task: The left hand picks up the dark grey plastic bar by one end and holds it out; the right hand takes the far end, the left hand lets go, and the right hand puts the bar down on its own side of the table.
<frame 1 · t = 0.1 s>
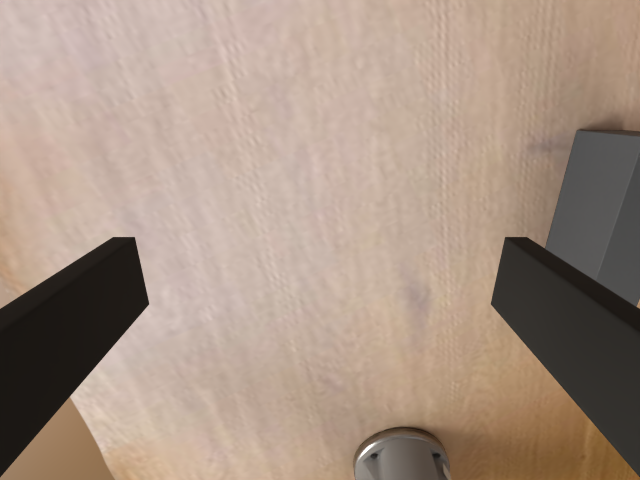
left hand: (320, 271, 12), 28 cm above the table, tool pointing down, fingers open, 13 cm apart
bar: (573, 222, 41), on the table
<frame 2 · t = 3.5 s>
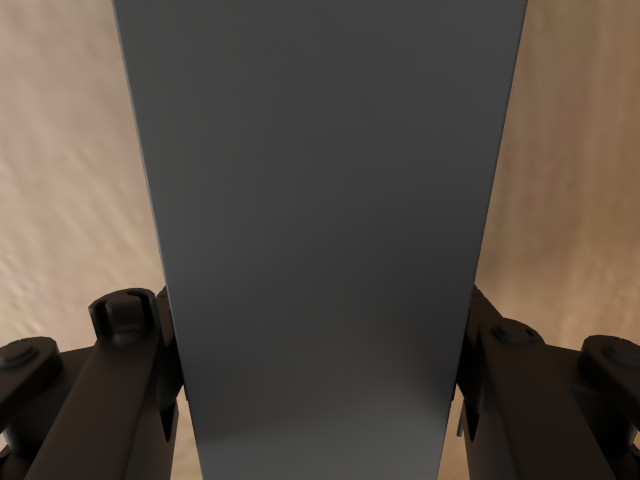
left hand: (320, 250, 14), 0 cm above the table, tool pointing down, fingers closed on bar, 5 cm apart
bar: (319, 53, 12), on the table, touching left hand
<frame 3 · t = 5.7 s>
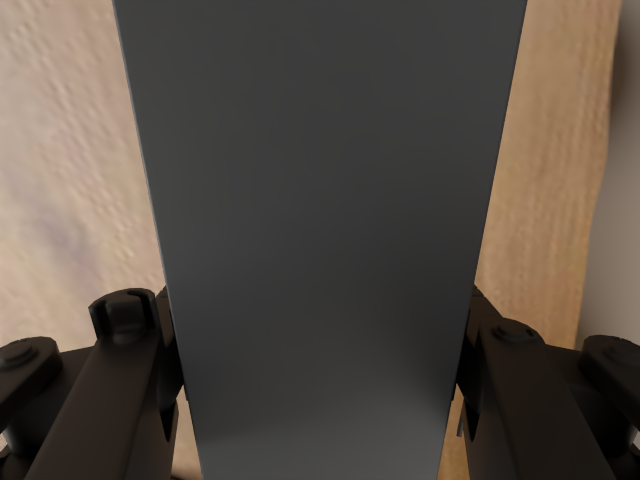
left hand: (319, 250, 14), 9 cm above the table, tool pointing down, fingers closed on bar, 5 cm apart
bar: (319, 52, 12), point 8 cm above the table, touching left hand
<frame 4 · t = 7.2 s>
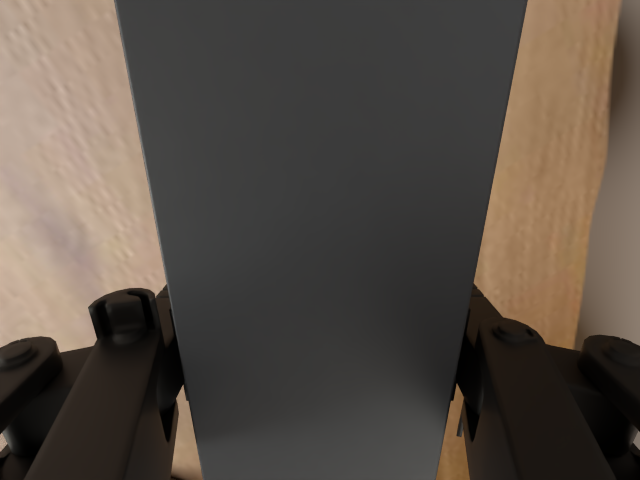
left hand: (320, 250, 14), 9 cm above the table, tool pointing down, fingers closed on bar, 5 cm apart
bar: (320, 52, 12), point 8 cm above the table, touching left hand, right hand
when the left hand's fingers open (9 cm above the table, at t = 8.0 s): bar stays where it is, held by the right hand.
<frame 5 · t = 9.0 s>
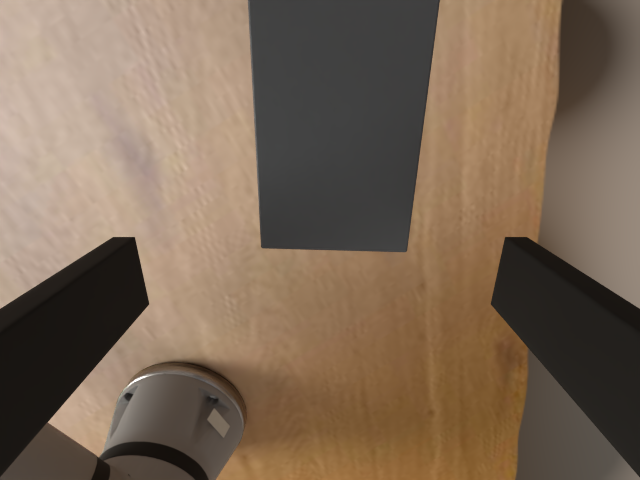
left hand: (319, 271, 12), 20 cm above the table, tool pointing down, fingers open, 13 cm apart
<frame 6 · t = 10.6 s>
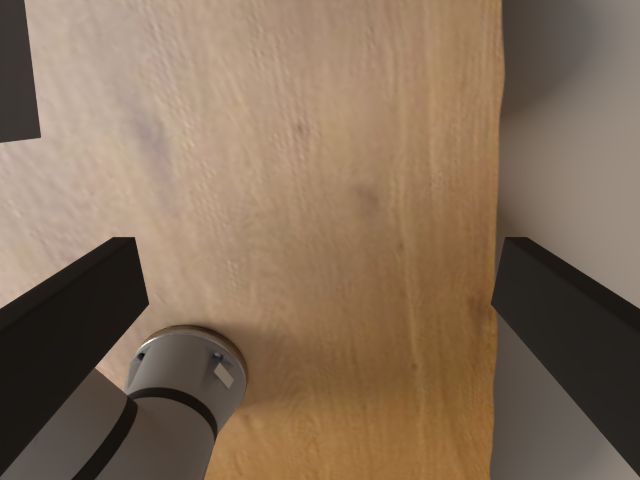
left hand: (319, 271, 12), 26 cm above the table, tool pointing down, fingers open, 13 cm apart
when the right hand's fingers open (4 cm above the table, at t = 14.4 s): bar stays where it is, on the table.
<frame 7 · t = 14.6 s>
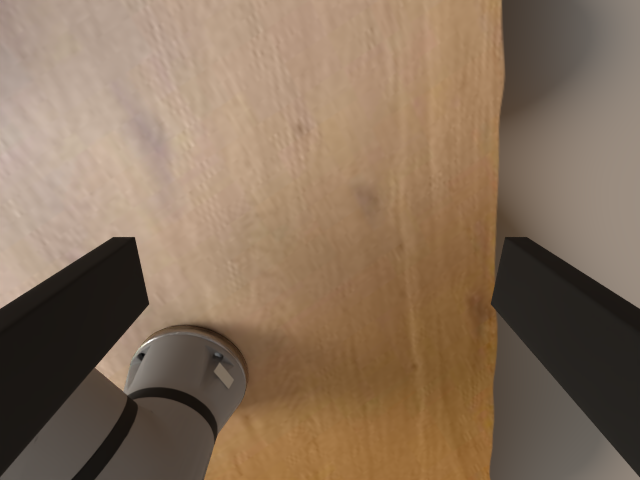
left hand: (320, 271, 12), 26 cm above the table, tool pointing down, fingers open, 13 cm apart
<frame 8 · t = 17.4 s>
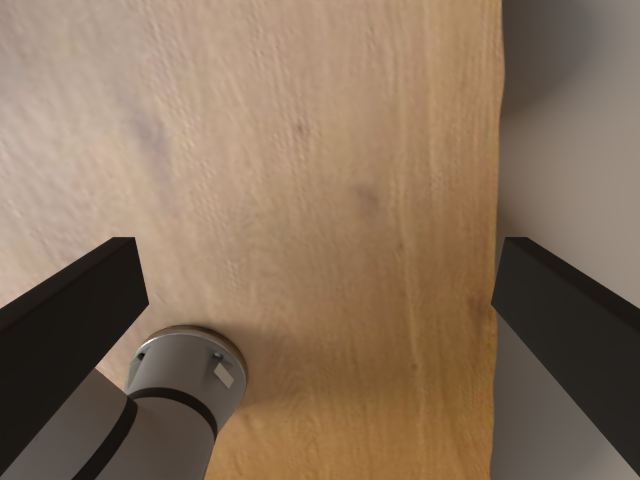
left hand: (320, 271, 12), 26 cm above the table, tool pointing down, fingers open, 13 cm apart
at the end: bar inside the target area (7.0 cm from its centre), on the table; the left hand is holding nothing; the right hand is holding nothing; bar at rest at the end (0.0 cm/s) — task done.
